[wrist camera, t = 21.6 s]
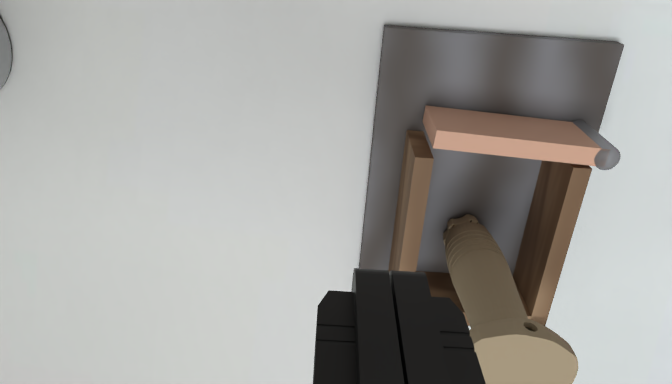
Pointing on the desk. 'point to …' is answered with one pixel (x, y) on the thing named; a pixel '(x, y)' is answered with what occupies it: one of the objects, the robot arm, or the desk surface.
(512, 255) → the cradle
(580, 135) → the gate
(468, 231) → the handle
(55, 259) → the desk surface
